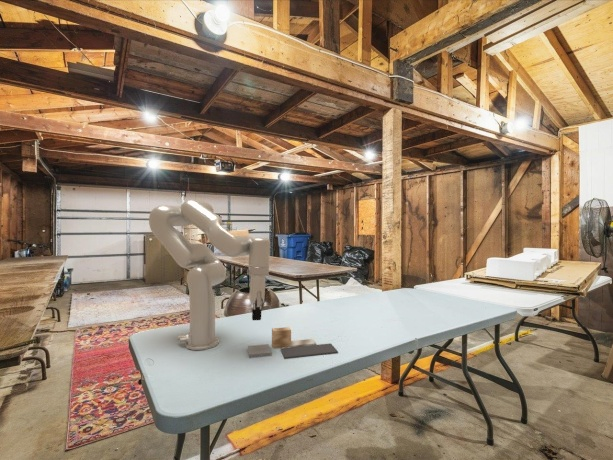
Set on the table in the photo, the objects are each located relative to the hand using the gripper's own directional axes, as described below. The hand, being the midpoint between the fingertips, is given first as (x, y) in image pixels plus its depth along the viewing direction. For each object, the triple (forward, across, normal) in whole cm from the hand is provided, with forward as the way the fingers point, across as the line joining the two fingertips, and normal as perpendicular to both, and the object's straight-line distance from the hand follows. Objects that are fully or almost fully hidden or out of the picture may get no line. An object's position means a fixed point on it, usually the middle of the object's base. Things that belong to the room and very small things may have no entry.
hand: (256, 319), depth 113 cm
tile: (+11, -2, +1) cm, 12 cm away
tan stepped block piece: (+11, -2, +15) cm, 19 cm away
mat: (+11, +6, +19) cm, 23 cm away
